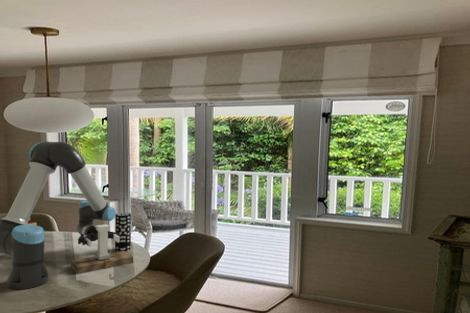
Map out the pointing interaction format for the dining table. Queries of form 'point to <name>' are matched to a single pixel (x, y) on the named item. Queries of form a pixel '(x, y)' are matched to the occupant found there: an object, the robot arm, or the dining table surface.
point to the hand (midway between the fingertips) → (104, 241)
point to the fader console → (101, 262)
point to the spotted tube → (123, 231)
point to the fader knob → (102, 242)
